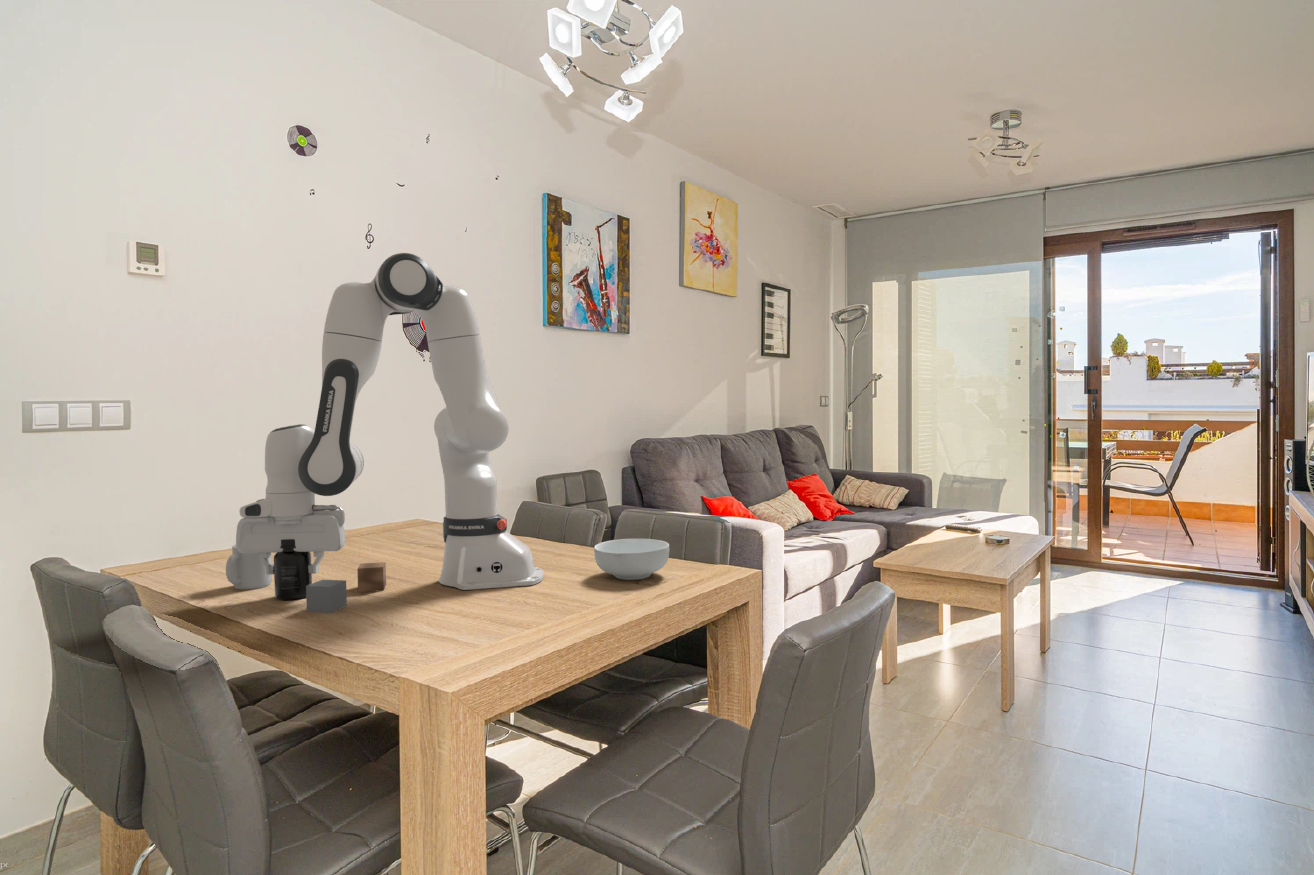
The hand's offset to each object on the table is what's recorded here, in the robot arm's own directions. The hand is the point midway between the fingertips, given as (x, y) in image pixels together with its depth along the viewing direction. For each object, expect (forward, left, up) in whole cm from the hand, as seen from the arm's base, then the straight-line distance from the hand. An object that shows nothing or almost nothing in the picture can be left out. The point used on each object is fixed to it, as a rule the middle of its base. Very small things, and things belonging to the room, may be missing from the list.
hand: (292, 573), depth 149 cm
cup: (+13, -9, -5) cm, 17 cm away
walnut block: (-14, -5, -5) cm, 16 cm away
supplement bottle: (0, 0, -5) cm, 5 cm away
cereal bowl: (-69, -10, -5) cm, 70 cm away
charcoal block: (-10, +10, -5) cm, 15 cm away
